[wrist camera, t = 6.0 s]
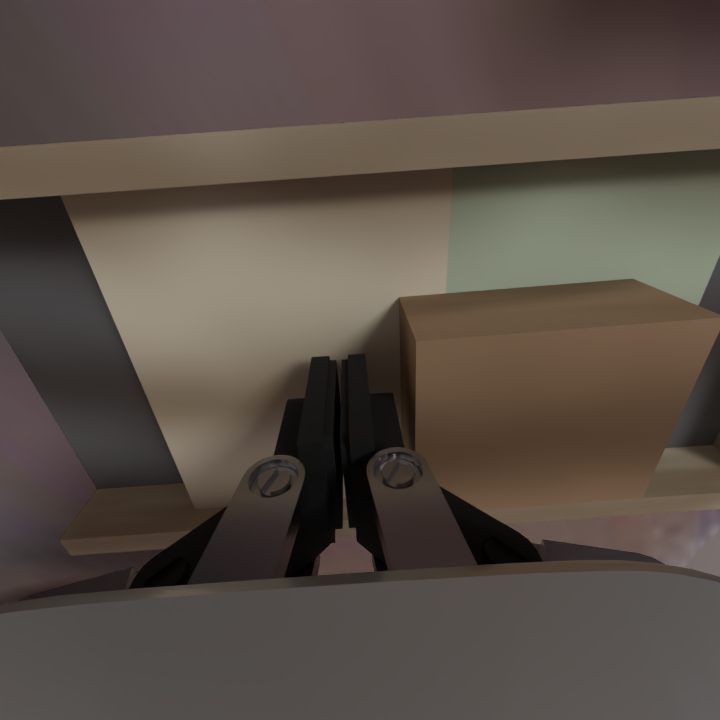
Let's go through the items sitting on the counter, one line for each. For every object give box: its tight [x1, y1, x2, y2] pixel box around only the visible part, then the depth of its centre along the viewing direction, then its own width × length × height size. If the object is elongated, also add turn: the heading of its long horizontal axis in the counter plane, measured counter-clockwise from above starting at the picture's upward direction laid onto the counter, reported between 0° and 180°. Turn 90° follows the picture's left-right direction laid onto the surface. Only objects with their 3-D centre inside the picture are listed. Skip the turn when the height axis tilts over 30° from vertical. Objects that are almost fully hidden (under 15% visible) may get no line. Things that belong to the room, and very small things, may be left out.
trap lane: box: [0, 96, 720, 556], centre depth 13 cm, size 14×29×4 cm, turn 94°
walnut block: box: [399, 279, 720, 510], centre depth 11 cm, size 6×7×3 cm
